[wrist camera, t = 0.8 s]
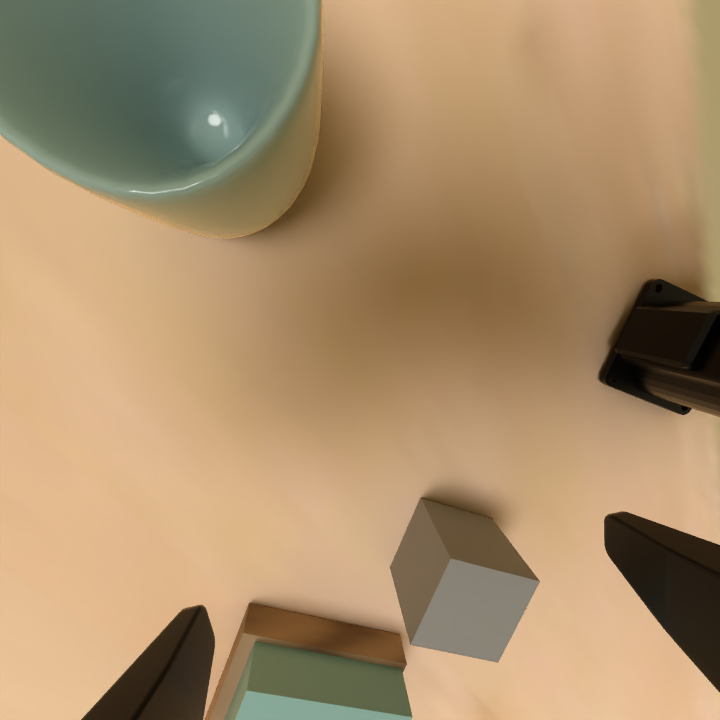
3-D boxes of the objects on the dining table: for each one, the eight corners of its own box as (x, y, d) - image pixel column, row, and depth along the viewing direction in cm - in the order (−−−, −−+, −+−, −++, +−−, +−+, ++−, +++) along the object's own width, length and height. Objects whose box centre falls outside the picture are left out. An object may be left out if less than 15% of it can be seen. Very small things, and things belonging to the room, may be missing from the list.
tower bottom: (397, 625, 24) (406, 664, 21) (344, 739, 25) (348, 788, 23) (251, 594, 22) (242, 633, 19) (203, 719, 23) (190, 770, 21)
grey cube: (491, 517, 22) (539, 581, 17) (459, 583, 23) (497, 662, 18) (419, 496, 21) (450, 558, 17) (389, 566, 22) (410, 644, 17)
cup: (350, 160, 17) (397, -9, 7) (247, 282, 18) (164, 275, 8) (217, 24, 15) (49, -430, 6) (108, 164, 16) (-218, -31, 6)
